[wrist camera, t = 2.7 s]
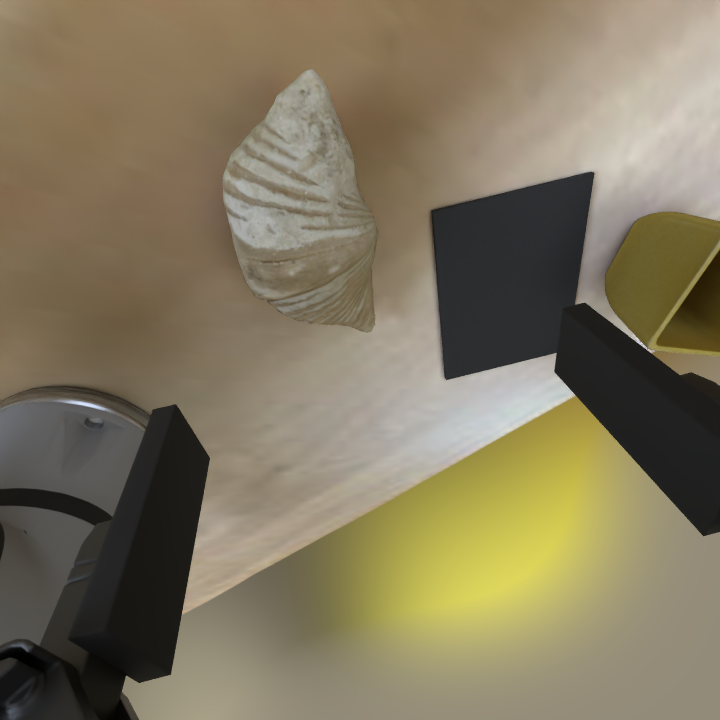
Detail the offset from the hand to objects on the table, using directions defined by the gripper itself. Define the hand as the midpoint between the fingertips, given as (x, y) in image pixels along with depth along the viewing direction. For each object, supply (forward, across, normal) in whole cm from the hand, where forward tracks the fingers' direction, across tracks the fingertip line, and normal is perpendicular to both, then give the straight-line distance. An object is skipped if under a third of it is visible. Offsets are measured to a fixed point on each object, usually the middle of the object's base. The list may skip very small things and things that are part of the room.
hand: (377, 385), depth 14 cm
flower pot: (+18, +25, -8) cm, 32 cm away
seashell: (+19, -2, 0) cm, 19 cm away
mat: (+18, +14, -9) cm, 24 cm away
